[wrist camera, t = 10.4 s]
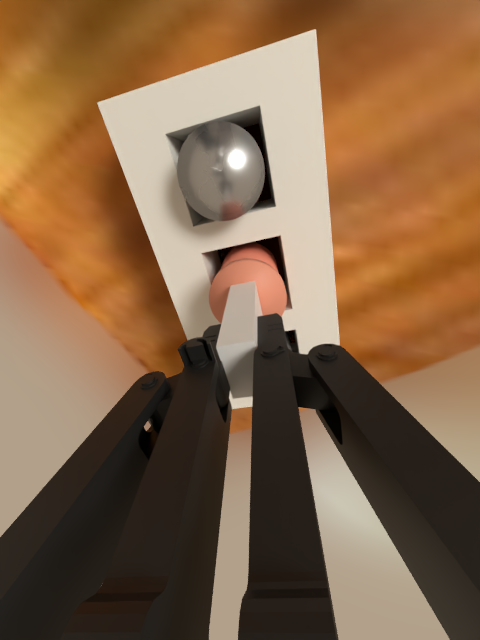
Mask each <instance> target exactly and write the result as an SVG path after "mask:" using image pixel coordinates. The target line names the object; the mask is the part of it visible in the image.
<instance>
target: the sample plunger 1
mask: <svg viewBox="0 0 480 640" xmlns="http://www.w3.org/2000/svg"><path fill="white" fill-rule="evenodd" d="M177 177H178V182H179V186H180V189H181V191H182V194H183V196H184V198H185V199H186V201H187V202H188V203H189V205H190V206H191V207H192V208H193V209H194V210H195V211H196V212H198V213H199V214H200V215H202V216H204V217H206V218H208V219H211V220H216V221H230V220H233V219H236V218H239V217H241V216H242V215H244V214H245V213H247V212H248V211H249V210H250V209H251V208H252V207H253V206H254V205H255V203H256V202H257V200H258V198H259V196H260V194H261V192H262V189H263V185H264V179H265V167H264V160H263V157H262V153H261V151H260V149H259V146H258V145H257V143H256V141H255V140H254V139H253V137H252V136H251V135H250V134H249V133H248V132H247V131H246V130H244V129H243V128H242V127H240V126H238V125H236V124H234V123H231V122H226V121H212V122H208V123H205V124H203V125H201V126H199V127H198V128H196V129H195V130H194V131H193V132H192V133H191V134H190V135H189V136H188V137H187V139H186V140H185V142H184V143H183V145H182V147H181V150H180V153H179V156H178V162H177Z"/></svg>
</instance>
